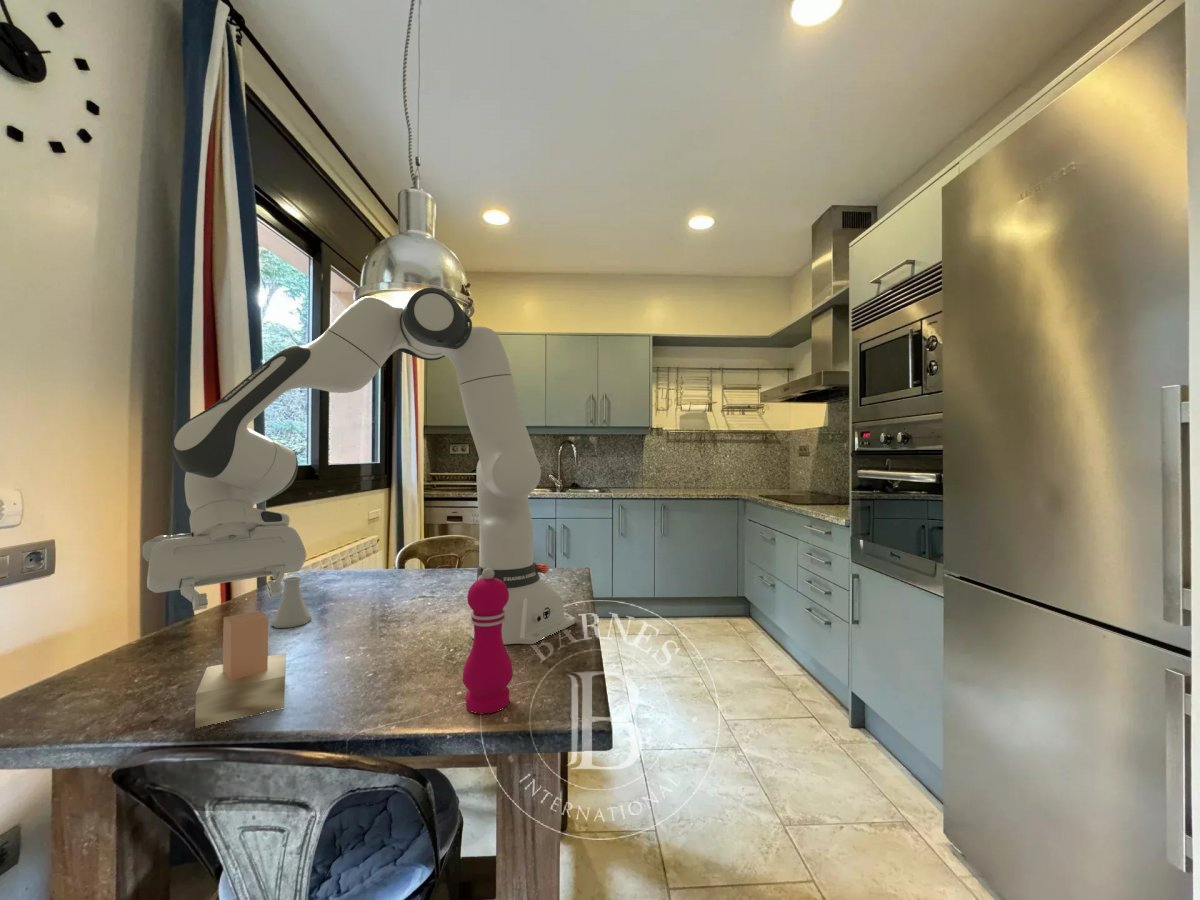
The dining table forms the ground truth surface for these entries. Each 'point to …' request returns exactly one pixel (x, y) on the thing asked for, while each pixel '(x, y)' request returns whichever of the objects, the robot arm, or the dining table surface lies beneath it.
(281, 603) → the flask
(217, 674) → the birch block
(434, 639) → the dining table surface
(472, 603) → the pepper mill
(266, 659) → the terracotta block
